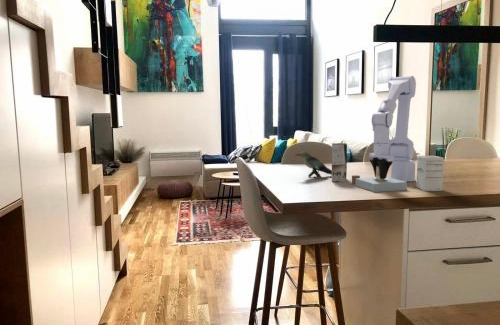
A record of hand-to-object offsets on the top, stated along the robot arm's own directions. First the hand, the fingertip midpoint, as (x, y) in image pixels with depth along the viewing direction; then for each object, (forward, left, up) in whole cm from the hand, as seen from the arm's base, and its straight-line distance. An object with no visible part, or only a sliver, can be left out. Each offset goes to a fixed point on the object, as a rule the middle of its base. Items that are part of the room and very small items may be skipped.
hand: (380, 177), depth 164 cm
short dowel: (+5, -10, -4) cm, 12 cm away
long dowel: (0, 0, -2) cm, 2 cm away
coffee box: (+7, -22, -4) cm, 23 cm away
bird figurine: (+13, -33, -4) cm, 35 cm away
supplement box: (-16, +8, -4) cm, 18 cm away
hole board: (0, 0, -4) cm, 4 cm away
